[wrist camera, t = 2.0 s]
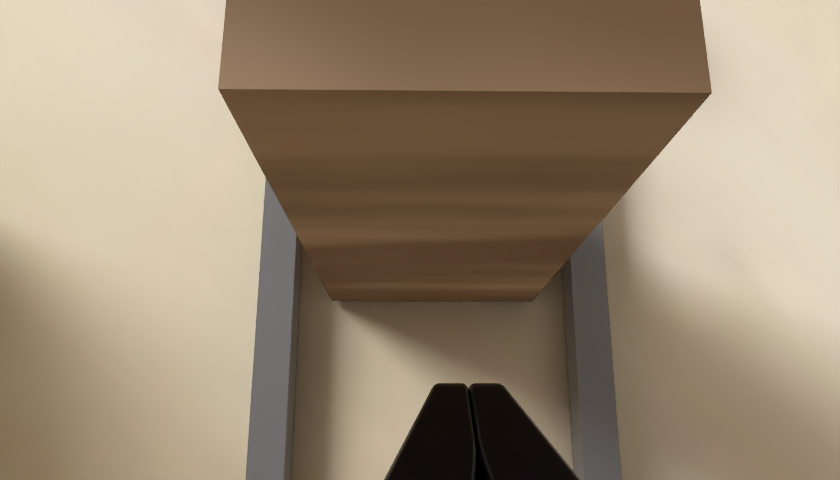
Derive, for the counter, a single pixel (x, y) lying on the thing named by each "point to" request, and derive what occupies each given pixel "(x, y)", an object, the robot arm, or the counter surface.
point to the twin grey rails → (280, 339)
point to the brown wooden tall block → (456, 130)
